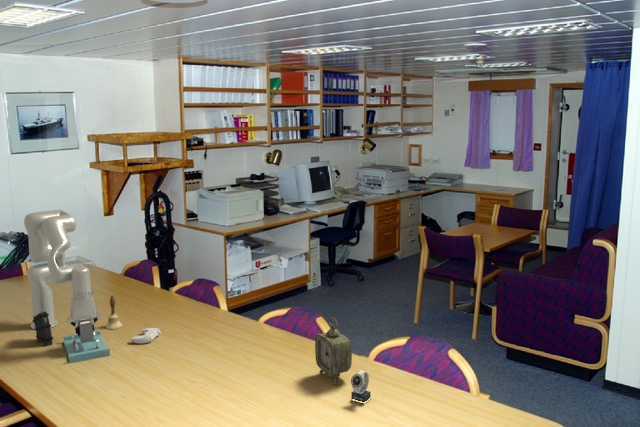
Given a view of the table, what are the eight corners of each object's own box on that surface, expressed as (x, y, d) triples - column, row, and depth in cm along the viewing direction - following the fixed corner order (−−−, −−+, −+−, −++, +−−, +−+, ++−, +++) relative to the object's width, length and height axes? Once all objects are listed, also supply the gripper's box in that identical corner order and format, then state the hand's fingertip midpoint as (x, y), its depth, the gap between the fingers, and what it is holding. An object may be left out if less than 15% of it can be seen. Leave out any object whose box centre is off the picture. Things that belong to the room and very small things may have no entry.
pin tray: (63, 342, 266) (62, 331, 265) (100, 336, 274) (99, 325, 273) (70, 363, 244) (69, 351, 243) (109, 355, 252) (109, 344, 251)
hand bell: (122, 322, 292) (120, 292, 289) (122, 328, 284) (120, 297, 281) (105, 324, 289) (103, 294, 287) (104, 330, 281) (102, 299, 279)
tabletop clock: (315, 373, 233) (314, 314, 229) (334, 368, 238) (334, 310, 234) (333, 387, 221) (333, 325, 217) (353, 382, 225) (353, 321, 221)
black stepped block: (47, 345, 259) (39, 313, 261) (38, 349, 268) (30, 318, 271) (56, 342, 262) (47, 310, 264) (46, 347, 271) (39, 316, 273)
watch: (348, 402, 209) (348, 374, 208) (360, 393, 216) (360, 366, 214) (361, 406, 206) (361, 378, 204) (373, 398, 213) (373, 370, 211)
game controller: (143, 326, 278) (161, 323, 276) (145, 335, 278) (164, 332, 276) (128, 337, 264) (147, 334, 262) (130, 346, 265) (150, 344, 262)
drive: (77, 334, 262) (76, 317, 261) (89, 332, 264) (88, 315, 263) (81, 343, 252) (79, 325, 250) (93, 341, 254) (92, 323, 253)
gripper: (100, 289, 262) (103, 327, 265) (60, 295, 254) (63, 334, 257) (103, 293, 256) (106, 332, 259) (62, 300, 247) (65, 340, 250)
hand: (85, 333), depth 258 cm, fingers closed on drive, 5 cm apart
